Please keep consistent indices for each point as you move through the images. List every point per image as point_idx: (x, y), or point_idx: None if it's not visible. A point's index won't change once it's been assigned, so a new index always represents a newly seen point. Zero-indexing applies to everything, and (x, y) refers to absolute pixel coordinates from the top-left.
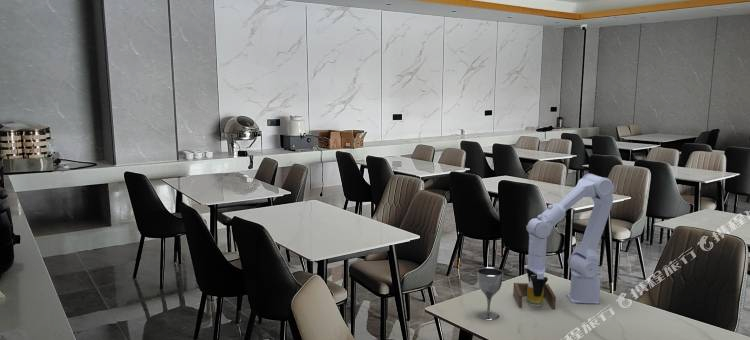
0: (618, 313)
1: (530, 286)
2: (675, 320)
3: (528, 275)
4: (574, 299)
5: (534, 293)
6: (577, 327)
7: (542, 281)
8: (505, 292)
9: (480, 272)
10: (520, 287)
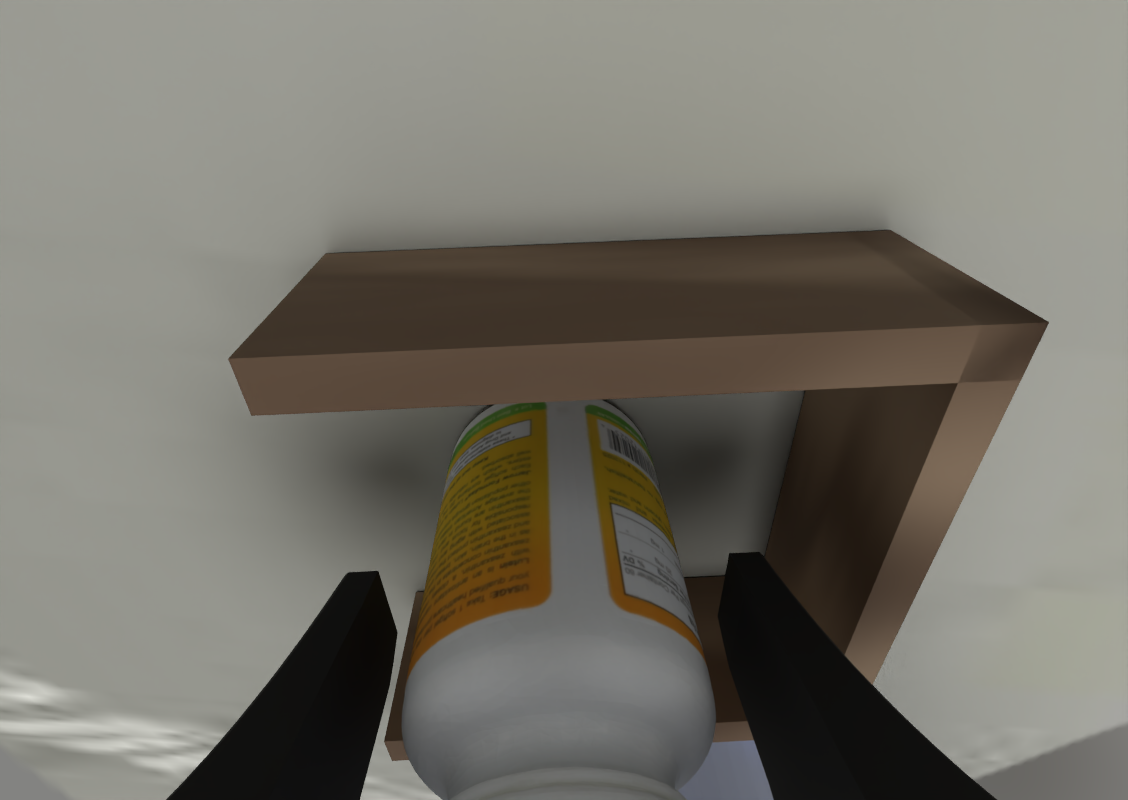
0: None
1: (451, 653)
2: None
3: (856, 786)
4: None
5: (317, 618)
6: (60, 696)
7: None
8: (1031, 98)
9: None
10: (892, 402)
